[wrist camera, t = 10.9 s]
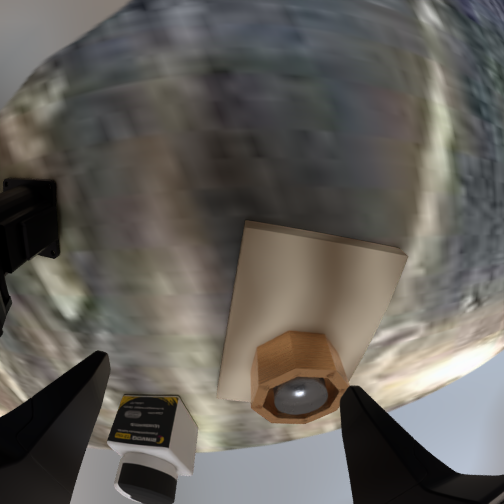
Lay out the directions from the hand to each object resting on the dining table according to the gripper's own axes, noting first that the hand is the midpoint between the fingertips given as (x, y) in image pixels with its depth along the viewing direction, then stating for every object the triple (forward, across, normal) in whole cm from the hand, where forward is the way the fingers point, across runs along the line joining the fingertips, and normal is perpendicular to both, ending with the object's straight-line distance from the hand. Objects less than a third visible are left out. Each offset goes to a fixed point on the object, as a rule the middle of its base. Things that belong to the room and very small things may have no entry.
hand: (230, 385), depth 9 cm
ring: (+10, -7, +8) cm, 15 cm away
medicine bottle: (+12, +5, +22) cm, 25 cm away
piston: (+10, -7, +8) cm, 15 cm away
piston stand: (+12, -6, +6) cm, 14 cm away
